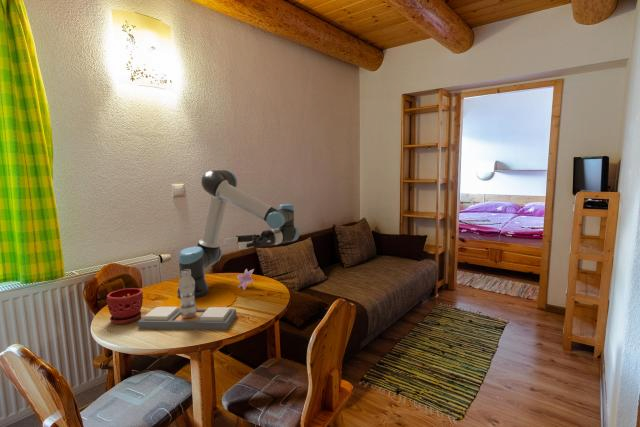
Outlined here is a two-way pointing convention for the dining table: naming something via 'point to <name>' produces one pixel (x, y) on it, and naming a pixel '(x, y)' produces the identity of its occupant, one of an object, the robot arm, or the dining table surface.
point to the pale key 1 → (161, 313)
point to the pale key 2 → (215, 314)
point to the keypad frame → (187, 323)
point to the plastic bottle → (187, 294)
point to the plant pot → (125, 305)
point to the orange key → (189, 318)
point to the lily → (245, 278)
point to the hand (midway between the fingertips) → (231, 244)
